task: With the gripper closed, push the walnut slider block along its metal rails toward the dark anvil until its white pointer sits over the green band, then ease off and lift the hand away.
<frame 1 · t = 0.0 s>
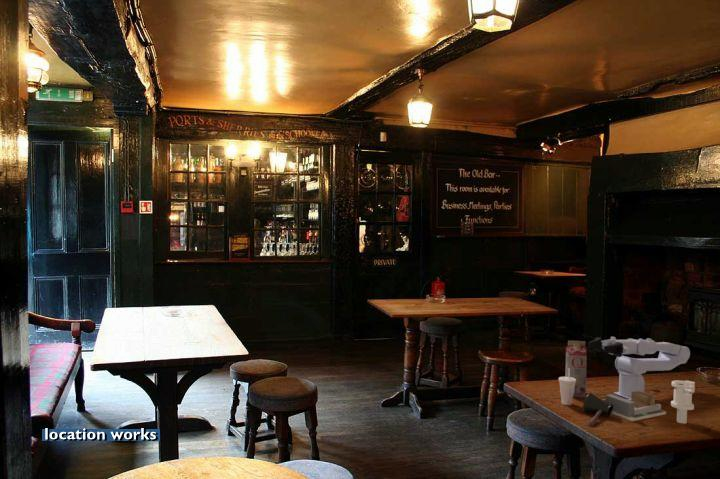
hand: (596, 347, 213), 22 cm above the table, tool horizontal, fingers open, 7 cm apart
coffee pot: (592, 418, 197), on the table
white stepped post: (681, 422, 194), on the table
smoothie: (566, 403, 212), on the table
gauge slider: (646, 401, 204), point 4 cm above the table, slide at 0.0 cm
juice carton: (575, 394, 223), on the table
gauge base: (633, 411, 203), on the table
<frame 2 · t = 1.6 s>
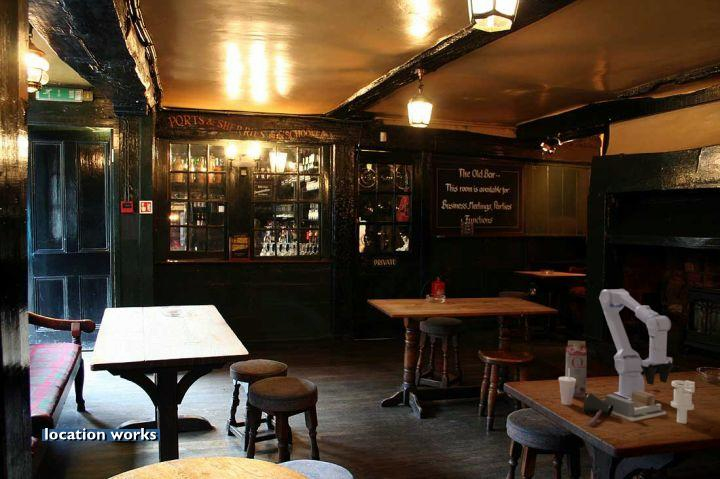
hand: (656, 383, 208), 9 cm above the table, tool pointing down, fingers open, 7 cm apart
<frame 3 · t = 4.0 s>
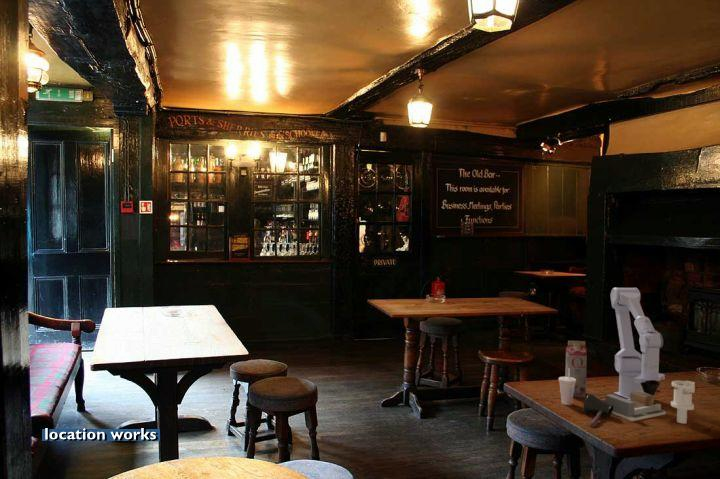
hand: (649, 399, 207), 3 cm above the table, tool pointing down, fingers closed
gauge slider: (645, 401, 203), point 4 cm above the table, slide at 0.5 cm, touching gripper
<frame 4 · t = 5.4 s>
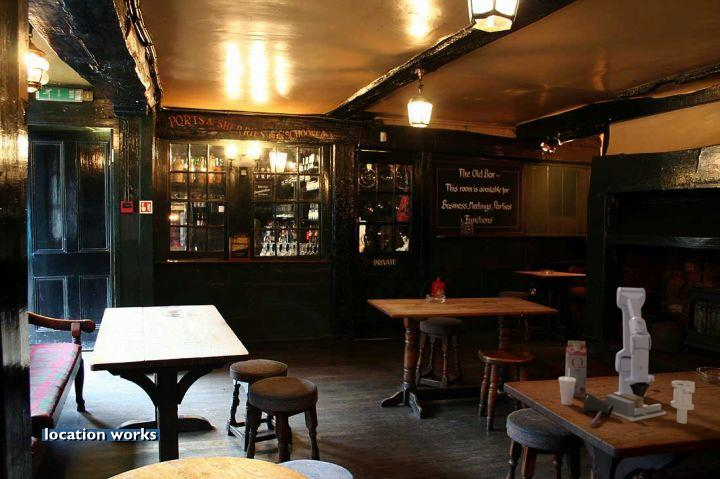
hand: (638, 401, 204), 3 cm above the table, tool pointing down, fingers closed
gauge slider: (635, 403, 201), point 4 cm above the table, slide at 6.4 cm, touching gripper
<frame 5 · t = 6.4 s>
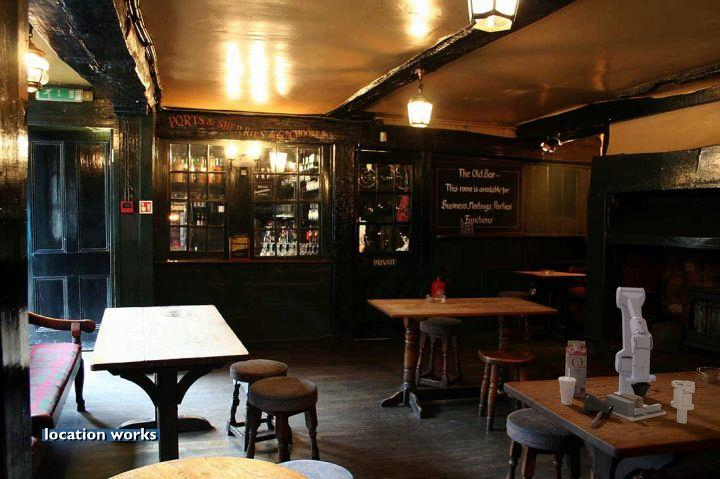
hand: (639, 401, 205), 3 cm above the table, tool pointing down, fingers closed
gauge slider: (635, 403, 201), point 4 cm above the table, slide at 6.4 cm
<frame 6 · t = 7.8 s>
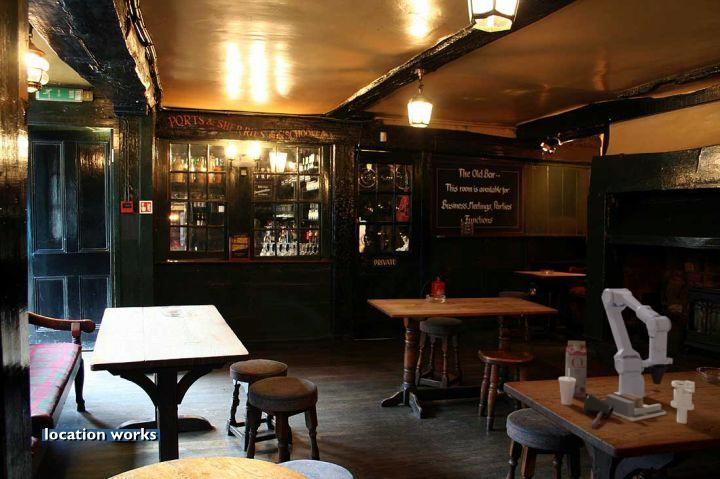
hand: (656, 383, 207), 9 cm above the table, tool pointing down, fingers closed
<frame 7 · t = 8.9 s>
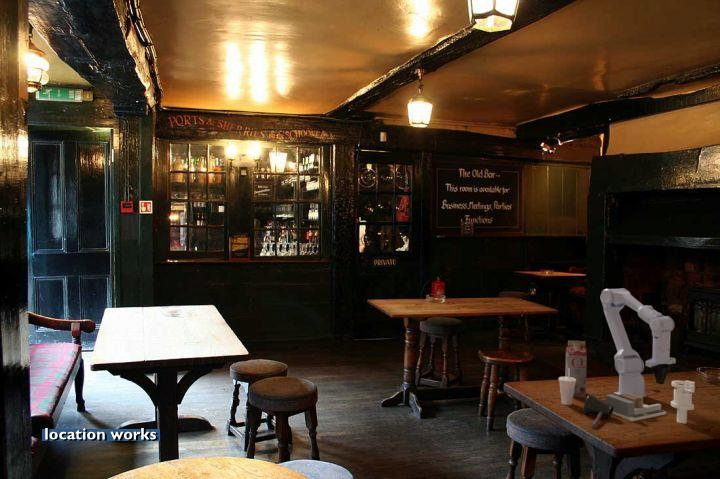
hand: (660, 383, 207), 9 cm above the table, tool pointing down, fingers closed
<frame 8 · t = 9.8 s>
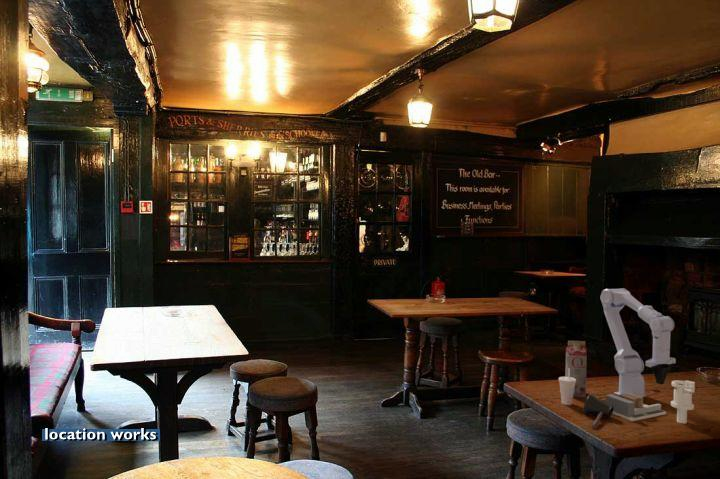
hand: (660, 383, 207), 9 cm above the table, tool pointing down, fingers closed
at the end: gauge slider slide at 6.4 cm; gauge slider moved 6.4 cm from its start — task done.
